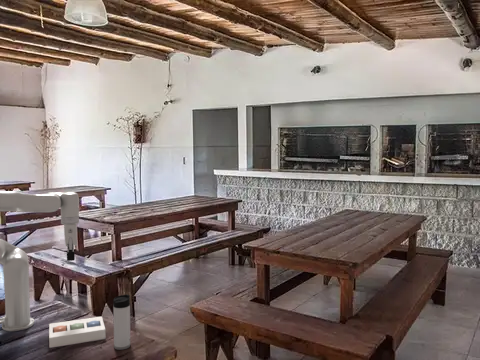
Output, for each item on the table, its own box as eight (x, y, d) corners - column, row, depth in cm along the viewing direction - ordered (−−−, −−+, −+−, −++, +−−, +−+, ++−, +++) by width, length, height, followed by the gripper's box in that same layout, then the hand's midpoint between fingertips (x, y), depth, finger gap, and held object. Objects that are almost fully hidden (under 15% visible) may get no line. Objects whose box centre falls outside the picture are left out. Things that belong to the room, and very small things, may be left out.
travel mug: (134, 345, 174) (133, 296, 172) (121, 351, 168) (120, 301, 167) (123, 340, 177) (123, 292, 175) (110, 347, 172) (109, 297, 170)
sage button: (71, 338, 178) (71, 328, 178) (71, 333, 182) (70, 324, 182) (83, 336, 180) (83, 326, 180) (82, 331, 184) (82, 322, 184)
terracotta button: (54, 340, 176) (53, 331, 175) (54, 335, 180) (53, 326, 179) (66, 338, 177) (66, 329, 177) (66, 334, 182) (65, 324, 181)
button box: (49, 347, 171) (49, 337, 170) (49, 333, 184) (49, 323, 183) (105, 338, 179) (105, 329, 179) (101, 325, 192) (101, 316, 191)
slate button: (88, 335, 181) (88, 326, 180) (87, 330, 185) (87, 321, 185) (100, 333, 183) (99, 324, 182) (98, 329, 187) (98, 320, 186)
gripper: (79, 222, 190) (80, 264, 192) (78, 216, 204) (79, 255, 206) (60, 223, 188) (61, 265, 189) (61, 217, 201) (61, 256, 203)
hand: (70, 260), depth 198 cm, fingers closed
